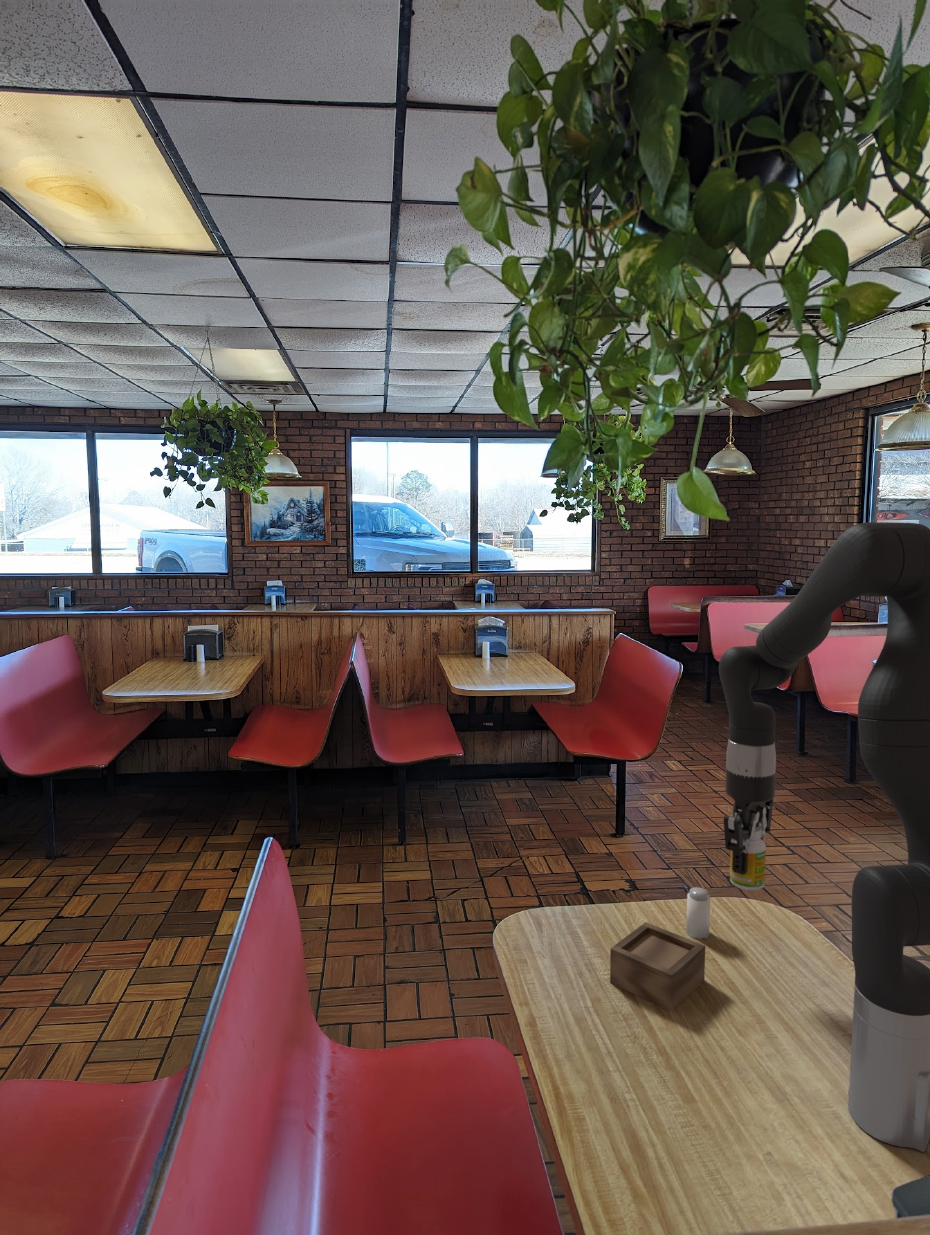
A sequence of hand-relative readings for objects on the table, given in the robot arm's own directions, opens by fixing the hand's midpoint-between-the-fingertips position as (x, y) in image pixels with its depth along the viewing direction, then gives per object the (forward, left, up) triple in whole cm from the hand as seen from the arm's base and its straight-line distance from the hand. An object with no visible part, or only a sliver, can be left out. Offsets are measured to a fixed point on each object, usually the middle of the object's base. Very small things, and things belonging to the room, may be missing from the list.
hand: (747, 866), depth 126 cm
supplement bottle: (0, 0, -3) cm, 3 cm away
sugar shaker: (+11, -5, -18) cm, 22 cm away
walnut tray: (+9, +13, -18) cm, 24 cm away
